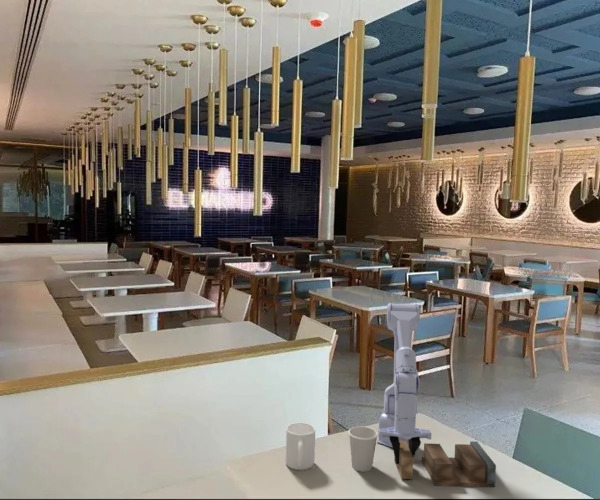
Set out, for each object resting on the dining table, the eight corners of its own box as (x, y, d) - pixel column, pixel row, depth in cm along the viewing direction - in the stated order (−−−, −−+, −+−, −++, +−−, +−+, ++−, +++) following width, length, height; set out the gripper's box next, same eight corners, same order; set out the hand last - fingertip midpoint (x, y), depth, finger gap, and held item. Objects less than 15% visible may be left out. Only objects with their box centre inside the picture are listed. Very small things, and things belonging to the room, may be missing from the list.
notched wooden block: (434, 485, 133) (435, 463, 133) (421, 460, 147) (422, 440, 147) (494, 487, 133) (495, 465, 133) (476, 461, 147) (477, 441, 147)
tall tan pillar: (401, 478, 135) (402, 457, 135) (394, 460, 145) (395, 440, 145) (412, 478, 135) (413, 457, 135) (404, 460, 145) (405, 440, 145)
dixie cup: (342, 469, 140) (343, 434, 140) (353, 456, 148) (354, 423, 147) (370, 476, 137) (372, 441, 136) (380, 464, 144) (382, 430, 143)
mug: (315, 478, 135) (316, 441, 134) (284, 477, 135) (285, 440, 134) (314, 457, 147) (315, 423, 146) (285, 456, 147) (286, 422, 146)
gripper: (381, 420, 135) (379, 469, 136) (435, 421, 135) (433, 470, 136) (377, 410, 142) (375, 456, 143) (428, 411, 142) (426, 457, 143)
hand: (403, 462), depth 140 cm, fingers closed on tall tan pillar, 3 cm apart
